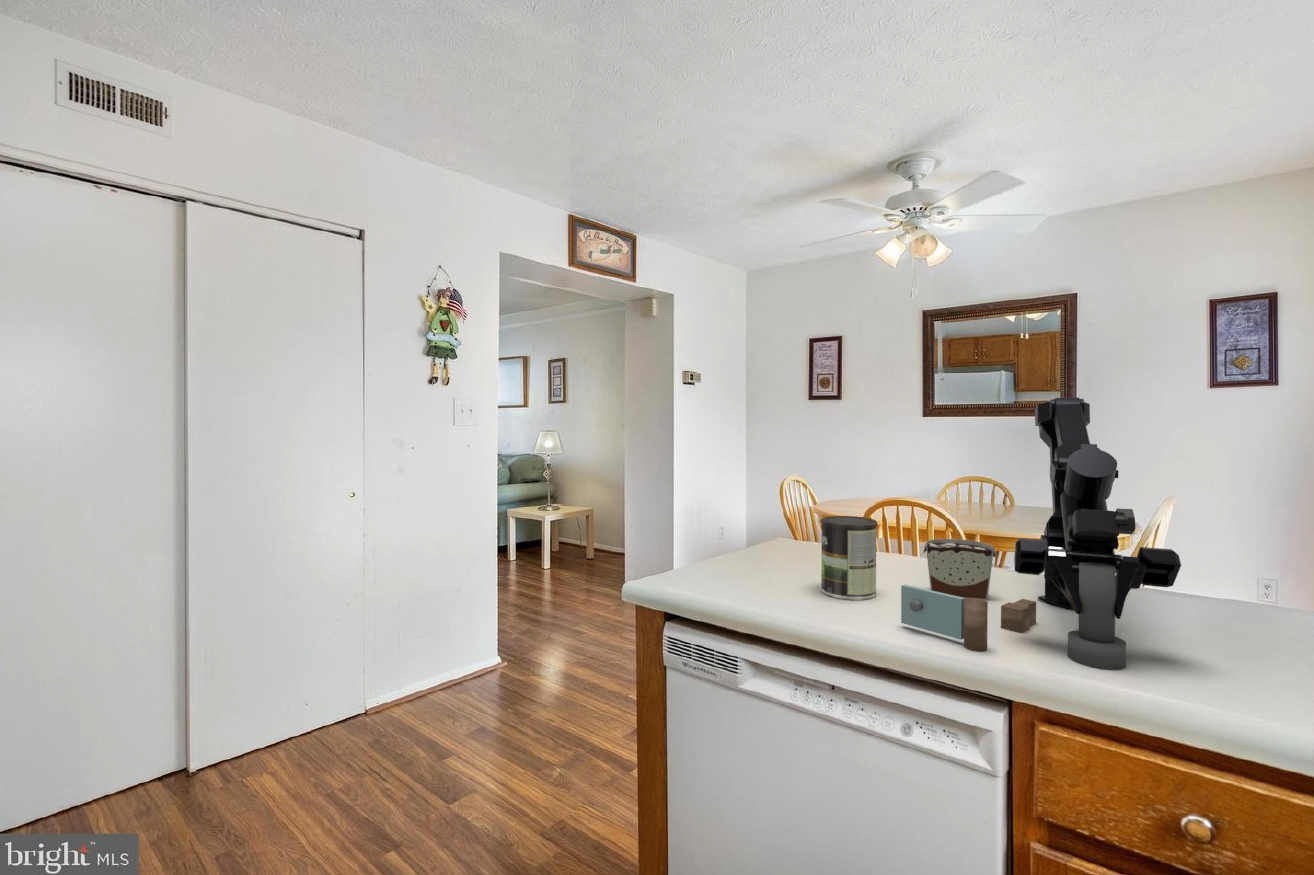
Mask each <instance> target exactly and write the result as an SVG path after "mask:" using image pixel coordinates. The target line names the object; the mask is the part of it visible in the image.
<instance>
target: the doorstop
mask: <svg viewBox="0 0 1314 875" xmlns="http://www.w3.org/2000/svg"><path fill="white" fill-rule="evenodd" d="M1115 576H1116V567H1114V566H1112V565H1108V564H1102V563H1093V562H1082V563H1079V598H1080V606H1081V613H1080V614H1078V630H1071V631H1068V632H1067V658H1069V659H1070V660H1072V661H1073V662H1076V663H1078V664H1080V665H1083V666H1087V667H1091V668H1096V669H1099V670H1100V669H1101V670H1108V671H1109V670H1111V671H1113V670H1114V671H1115V670H1116V671H1117V670H1123V669H1125V668H1126V666H1127V642H1126V641H1125V640H1123V639H1122V638H1120V637H1118V636H1116V616H1115Z"/></svg>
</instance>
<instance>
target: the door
mask: <svg viewBox="0 0 1314 875" xmlns="http://www.w3.org/2000/svg"><path fill="white" fill-rule="evenodd" d="M900 588H901V589H900V592H901V595H900V600H901V601H900V610H901V611H900V622H901V624H903V625H904V624H905V625H906V626H910V627H914V628H918V629H922V630H925V631H929V632H932V633H936V634H939V635H943V636H946V637H950V638H954V639H957V640H961V641H962V640H964V599H965V598H963V597H958V596H954V595H949V594H945V593H940V592H936V591H932V590H931V589H926V588H923V587H919V586H918V587H917V586H913V585H910V584H901V587H900Z"/></svg>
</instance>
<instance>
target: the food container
mask: <svg viewBox="0 0 1314 875" xmlns="http://www.w3.org/2000/svg"><path fill="white" fill-rule="evenodd" d="M925 552H926V558H927V567H928V576H929V586H930V590H932V591H936V592H940V593H945V594H949V595H954V596H958V597H963V598H978V599H983V600H986V601H987V602H988V599H989V598H988V597H989V591H990V590H989V589H990V582H991V573H992V565H993V557H994V558H995V559H997V557H998V556H997V553H996V552H997V551H996V550H995V549H994V545H991V544H989V543H985V542H982V541H976V540H969V539H961V538H959V539H958V538H957V539H956V538H935V539H930V540H927V541H926V542H925V544H924V548H923V551H922V554H925Z"/></svg>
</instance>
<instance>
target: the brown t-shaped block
mask: <svg viewBox="0 0 1314 875" xmlns="http://www.w3.org/2000/svg"><path fill="white" fill-rule="evenodd" d="M988 604H989V603H988V600H987V601H986V600H983V599H978V598H965V599H964V639H963V647H964V648H965V649H967V650H970V651H974V652H986V651H987V650H988V615H989V614H988V608H989V607H988ZM1036 623H1037V601H1036V600H1030V599H1027V598H1022V599H1019V600H1017V601H1015V602H1007V603H1005V604H1002V605H1001V606H1000V628H1001V629H1005V630H1008V631H1013V632H1016V633H1020V634H1021V633H1022V634H1023V633H1024V632H1026V631H1028V630H1030V628H1031V626H1033V625H1035V624H1036Z"/></svg>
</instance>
